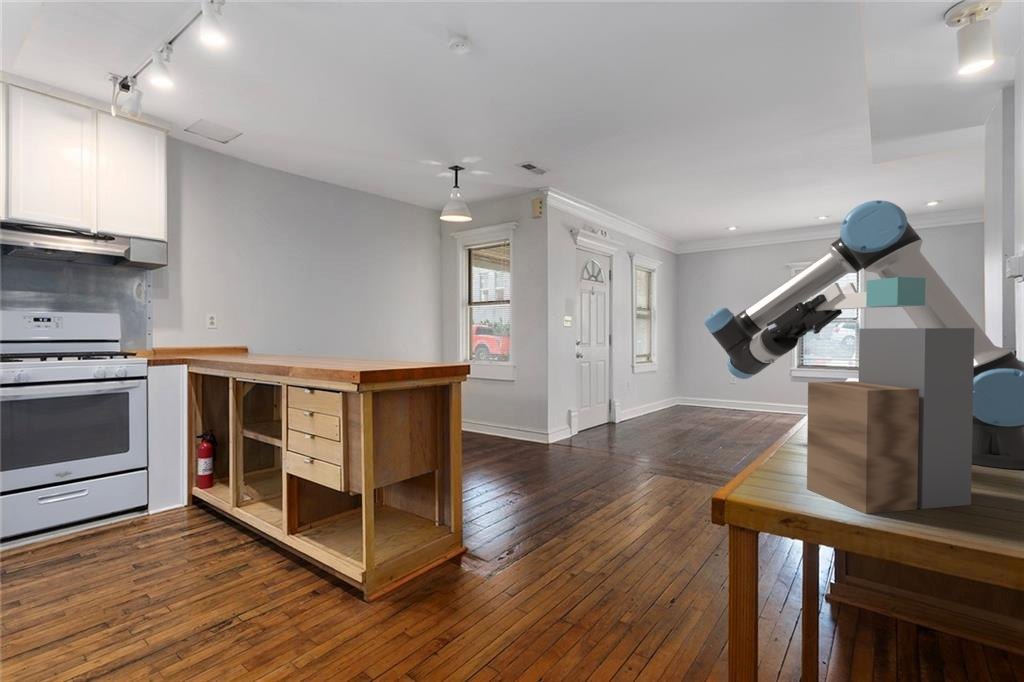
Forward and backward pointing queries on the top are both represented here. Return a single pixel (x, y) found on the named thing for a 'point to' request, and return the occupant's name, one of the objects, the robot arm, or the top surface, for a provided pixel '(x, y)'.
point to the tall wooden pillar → (863, 445)
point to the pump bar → (883, 294)
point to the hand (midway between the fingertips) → (846, 288)
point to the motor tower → (930, 401)
